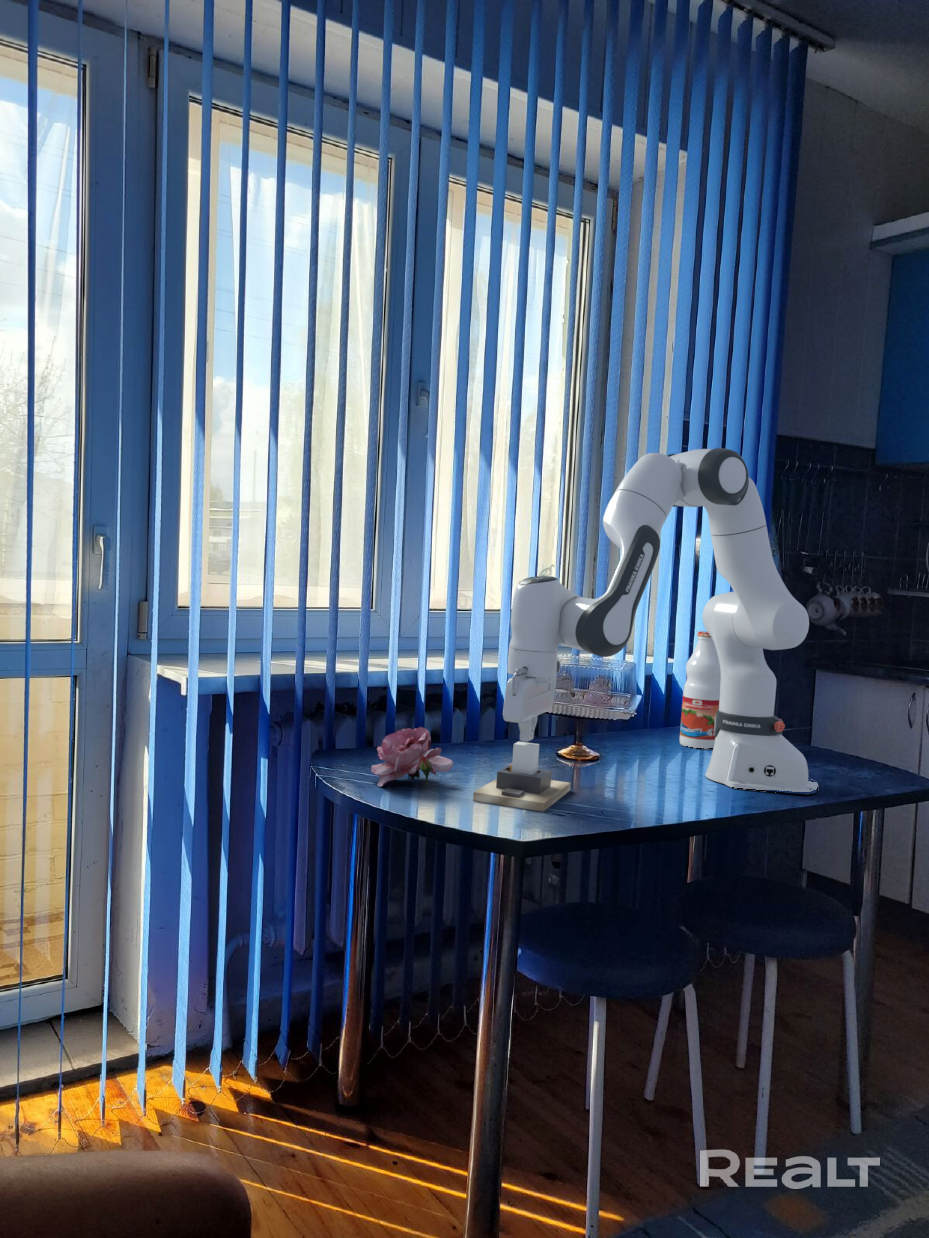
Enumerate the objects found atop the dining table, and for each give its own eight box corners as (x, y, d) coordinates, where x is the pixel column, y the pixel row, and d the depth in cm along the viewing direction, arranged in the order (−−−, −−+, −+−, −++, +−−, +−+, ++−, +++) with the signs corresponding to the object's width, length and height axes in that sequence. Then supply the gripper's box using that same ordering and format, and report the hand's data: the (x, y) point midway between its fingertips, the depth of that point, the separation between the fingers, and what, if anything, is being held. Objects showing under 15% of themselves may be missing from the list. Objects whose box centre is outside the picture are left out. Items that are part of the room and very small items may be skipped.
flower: (408, 755, 199) (406, 710, 195) (465, 779, 190) (463, 732, 186) (353, 786, 188) (350, 739, 185) (410, 813, 179) (407, 764, 176)
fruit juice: (724, 746, 247) (733, 633, 245) (710, 751, 239) (719, 634, 237) (687, 740, 252) (696, 629, 250) (672, 745, 245) (682, 630, 243)
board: (569, 790, 190) (570, 779, 190) (543, 811, 174) (544, 799, 173) (504, 780, 195) (505, 770, 195) (472, 800, 178) (473, 788, 178)
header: (550, 786, 186) (551, 770, 186) (539, 794, 179) (540, 777, 179) (508, 780, 189) (509, 764, 189) (496, 787, 182) (497, 771, 182)
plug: (536, 787, 185) (539, 744, 184) (531, 790, 182) (534, 746, 181) (512, 783, 186) (515, 740, 186) (507, 786, 184) (510, 743, 183)
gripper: (532, 672, 172) (526, 751, 173) (563, 662, 191) (557, 734, 192) (497, 668, 174) (491, 747, 175) (531, 659, 193) (526, 730, 194)
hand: (526, 740), depth 183 cm, fingers closed
